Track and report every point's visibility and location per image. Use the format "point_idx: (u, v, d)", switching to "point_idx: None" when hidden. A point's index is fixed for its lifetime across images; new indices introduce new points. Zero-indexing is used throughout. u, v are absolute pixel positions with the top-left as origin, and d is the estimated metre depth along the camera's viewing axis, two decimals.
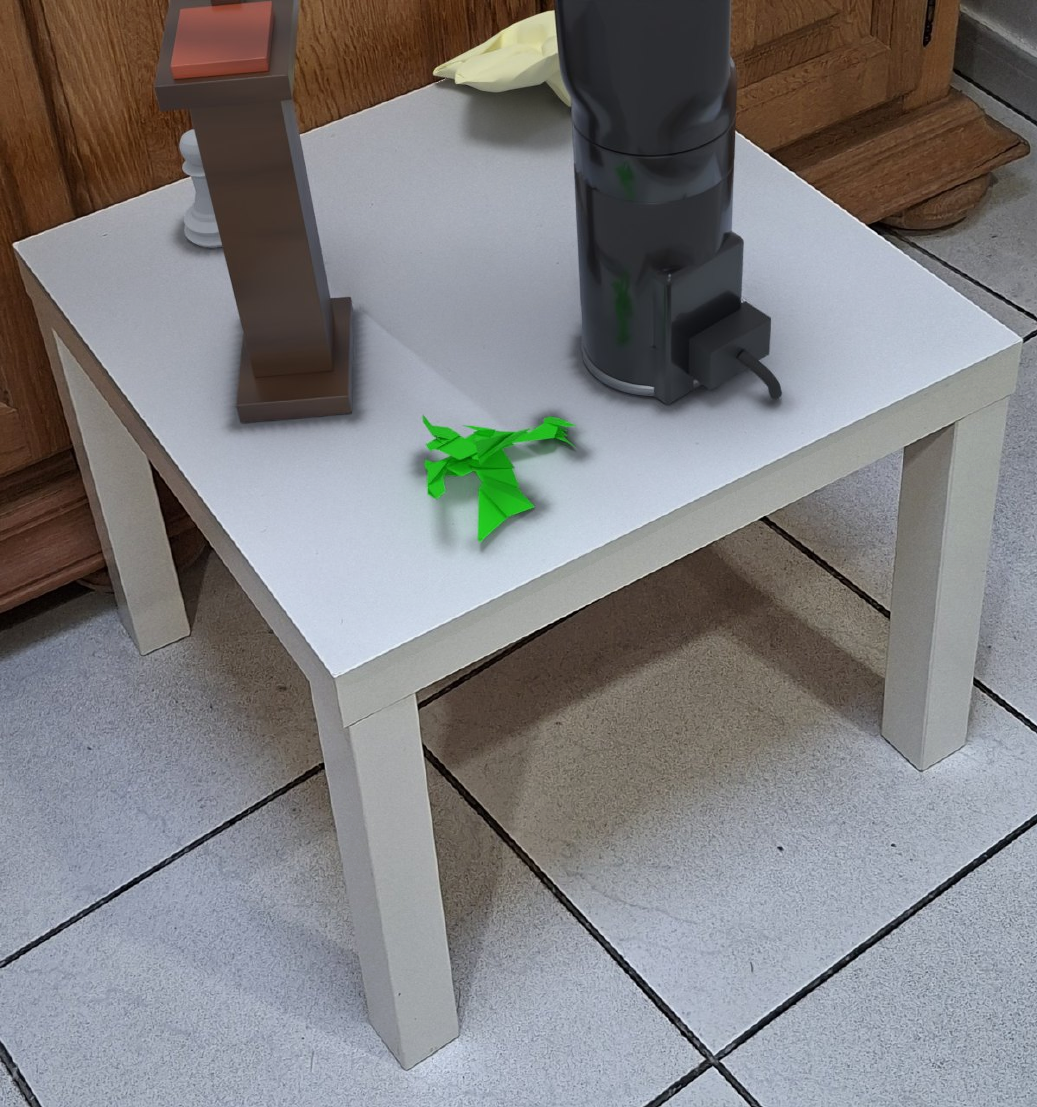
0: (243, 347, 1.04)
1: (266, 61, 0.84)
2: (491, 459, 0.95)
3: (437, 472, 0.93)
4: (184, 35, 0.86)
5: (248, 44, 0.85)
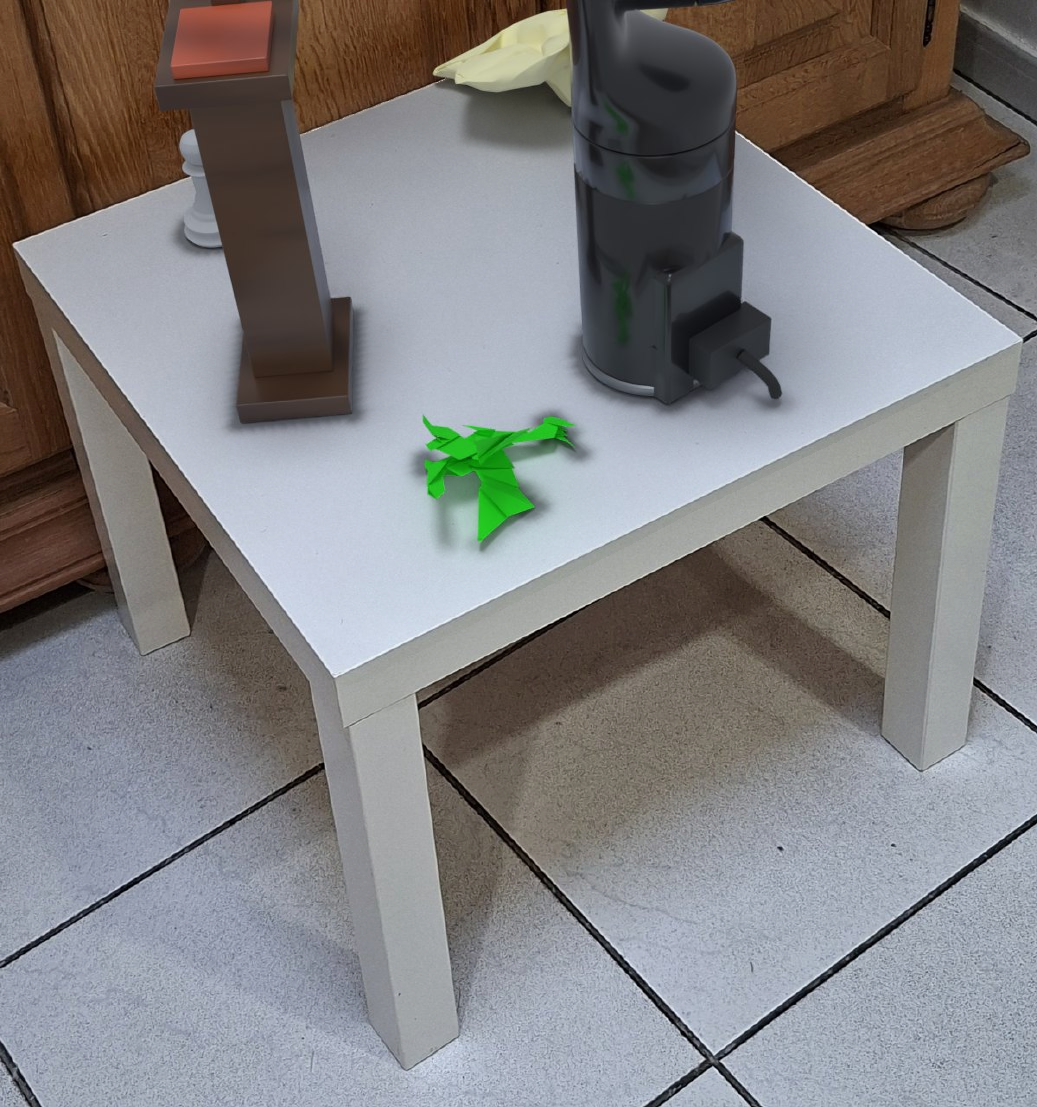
0: (243, 347, 1.04)
1: (266, 61, 0.84)
2: (491, 459, 0.95)
3: (437, 472, 0.93)
4: (184, 35, 0.86)
5: (248, 44, 0.85)
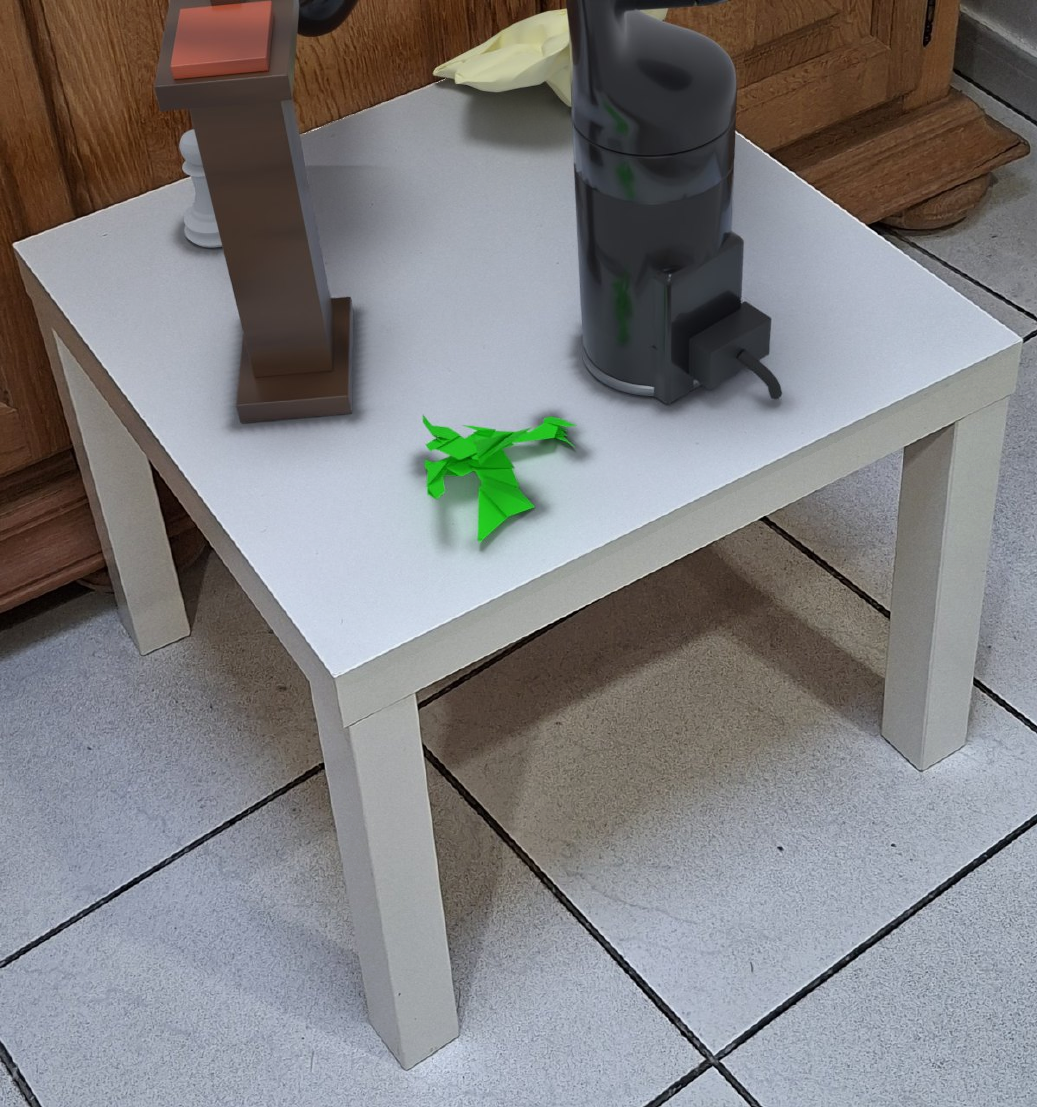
0: (243, 347, 1.04)
1: (266, 61, 0.84)
2: (491, 459, 0.95)
3: (437, 472, 0.93)
4: (184, 35, 0.86)
5: (248, 44, 0.85)
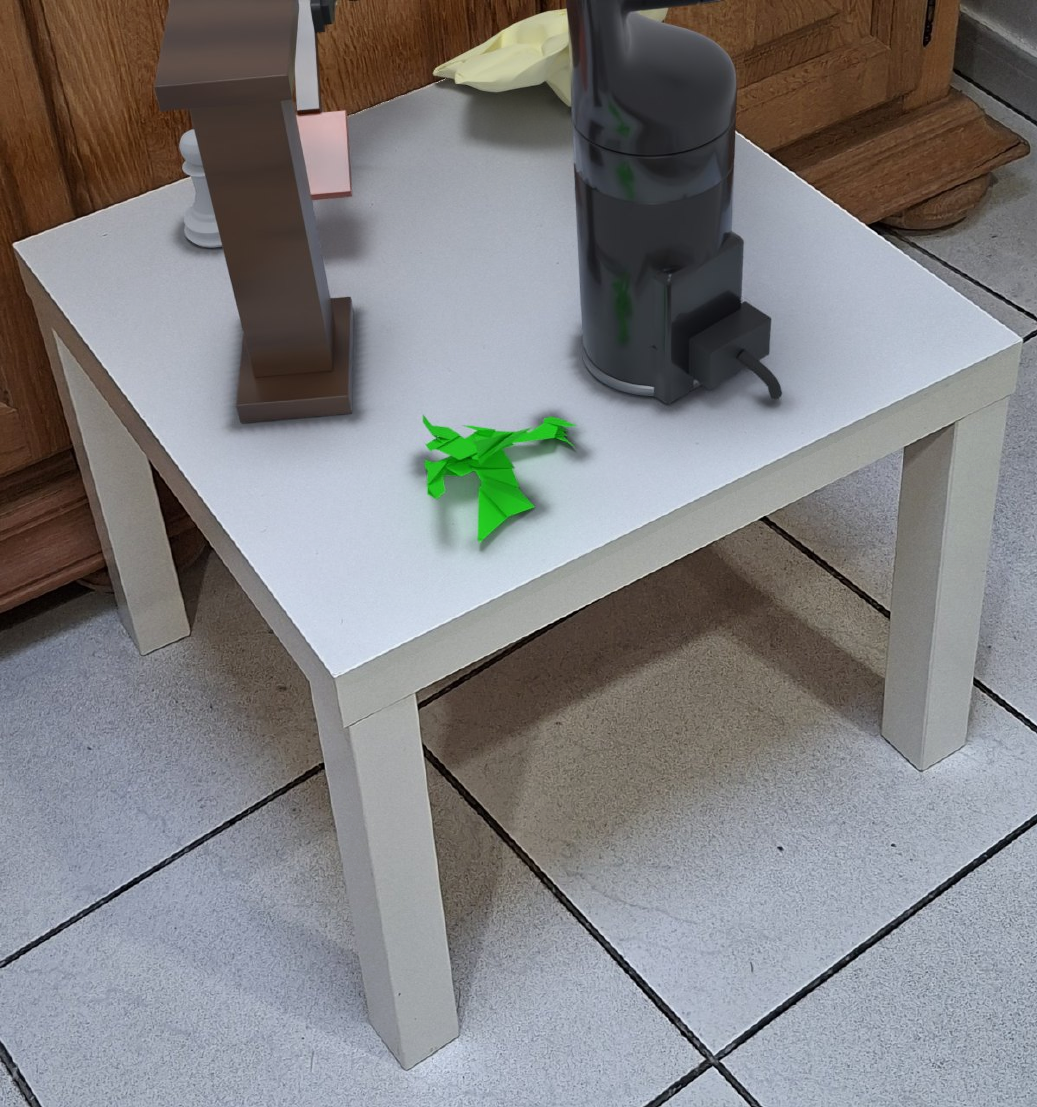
0: (243, 347, 1.04)
1: (351, 192, 1.09)
2: (491, 459, 0.95)
3: (437, 472, 0.93)
4: None
5: (334, 172, 1.09)
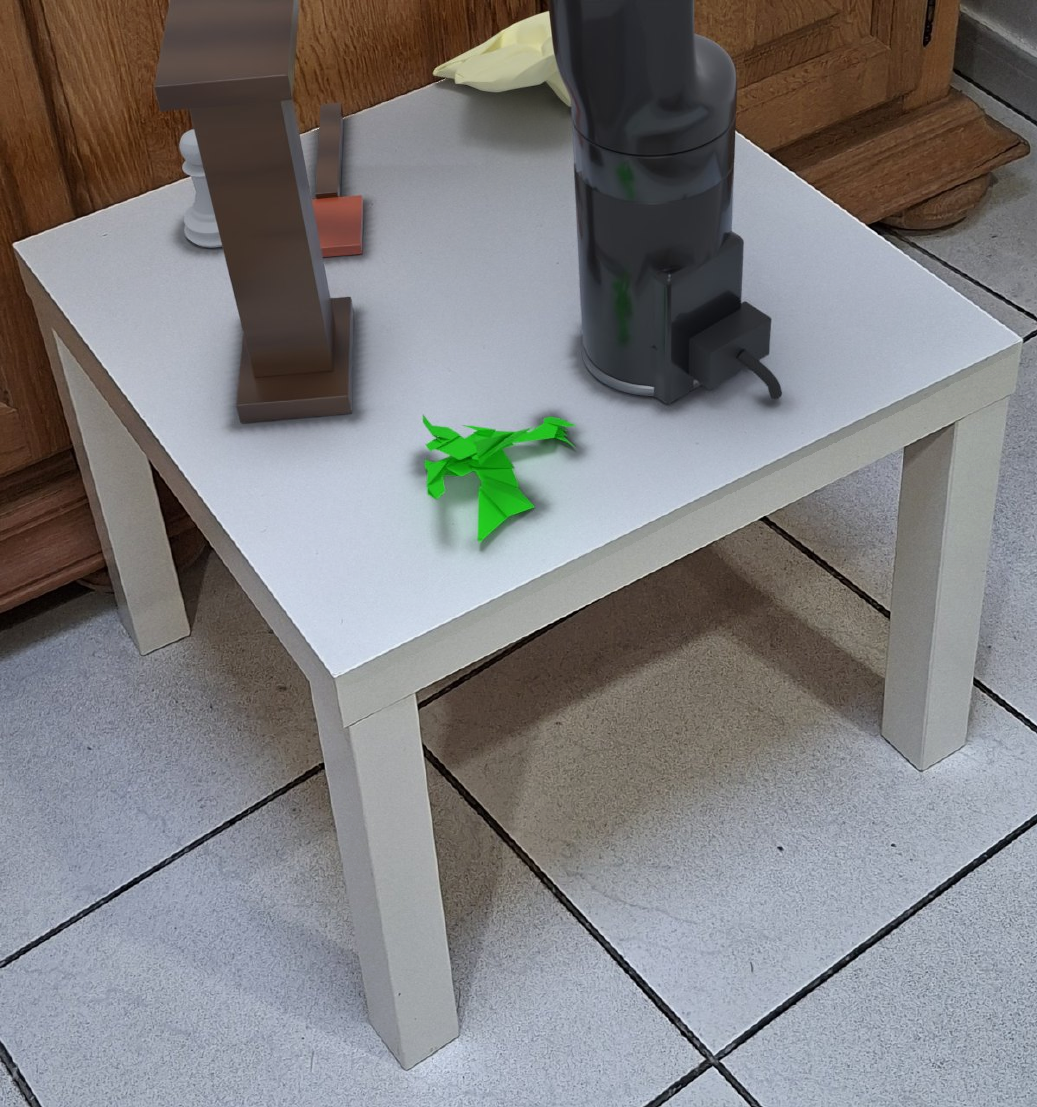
0: (243, 347, 1.04)
1: (360, 247, 1.13)
2: (491, 459, 0.95)
3: (437, 472, 0.93)
4: None
5: (346, 233, 1.13)
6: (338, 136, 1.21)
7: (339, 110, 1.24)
